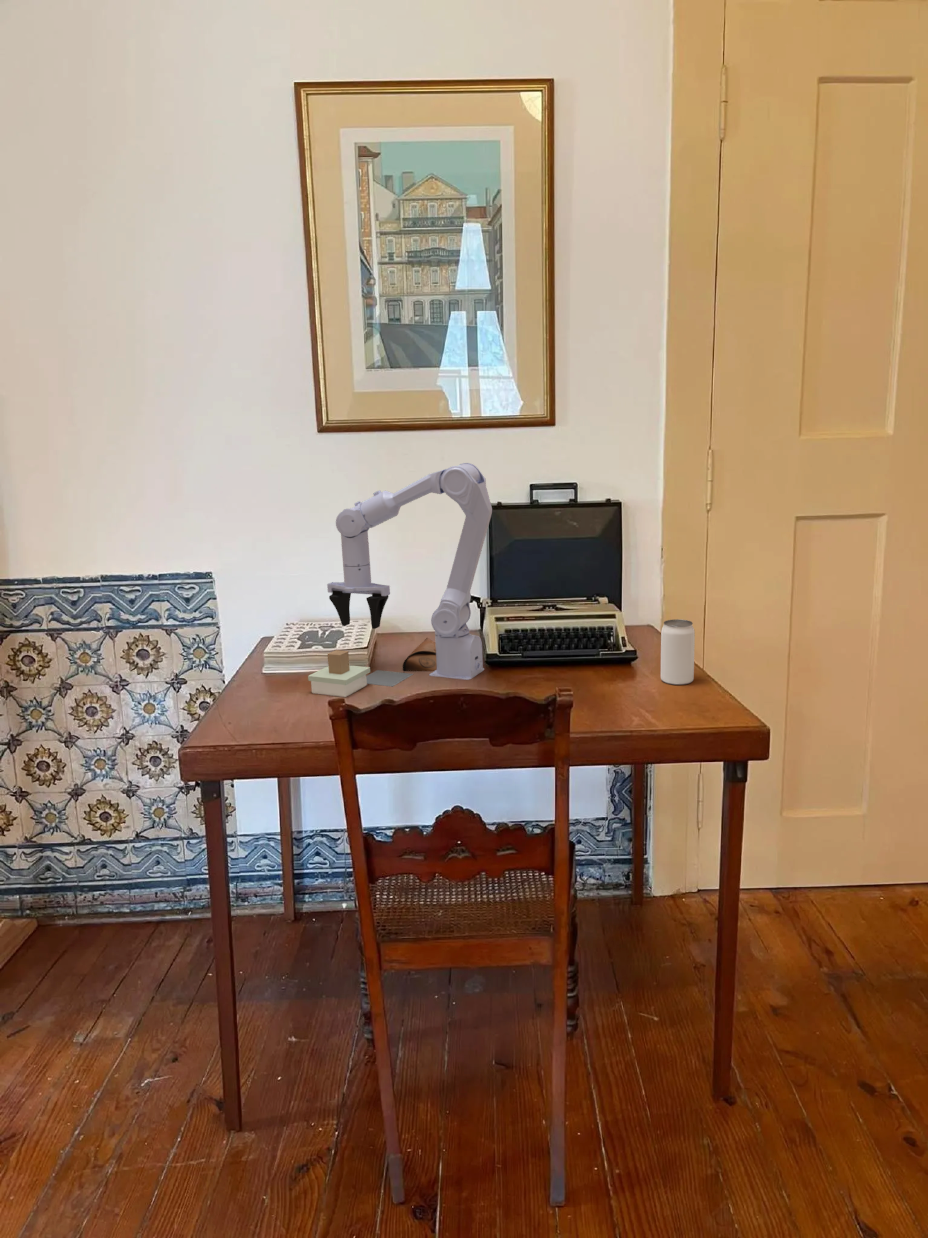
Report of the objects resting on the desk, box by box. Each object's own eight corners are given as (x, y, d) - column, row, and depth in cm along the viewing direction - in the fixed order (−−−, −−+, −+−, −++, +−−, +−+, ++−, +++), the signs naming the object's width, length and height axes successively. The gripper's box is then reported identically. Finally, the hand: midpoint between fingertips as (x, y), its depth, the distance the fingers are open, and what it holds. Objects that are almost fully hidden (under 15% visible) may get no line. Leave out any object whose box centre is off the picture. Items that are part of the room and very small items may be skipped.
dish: (367, 687, 179) (366, 673, 178) (345, 699, 172) (344, 684, 171) (334, 683, 182) (333, 669, 182) (312, 694, 175) (310, 680, 175)
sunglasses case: (441, 673, 186) (424, 647, 185) (414, 688, 188) (397, 663, 187) (457, 650, 203) (442, 626, 202) (433, 665, 205) (418, 641, 204)
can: (696, 677, 177) (697, 619, 174) (690, 686, 171) (691, 627, 168) (664, 674, 179) (665, 617, 177) (657, 683, 174) (658, 625, 171)
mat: (413, 675, 185) (413, 673, 185) (392, 688, 178) (392, 686, 177) (377, 671, 189) (377, 670, 189) (355, 683, 181) (355, 682, 181)
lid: (370, 672, 179) (368, 648, 178) (346, 685, 171) (344, 660, 170) (333, 668, 183) (331, 645, 181) (308, 680, 175) (306, 656, 174)
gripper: (317, 566, 185) (322, 628, 188) (376, 569, 179) (380, 633, 182) (335, 560, 191) (340, 620, 194) (393, 563, 185) (397, 625, 188)
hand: (360, 626), depth 188 cm, fingers open, 7 cm apart
